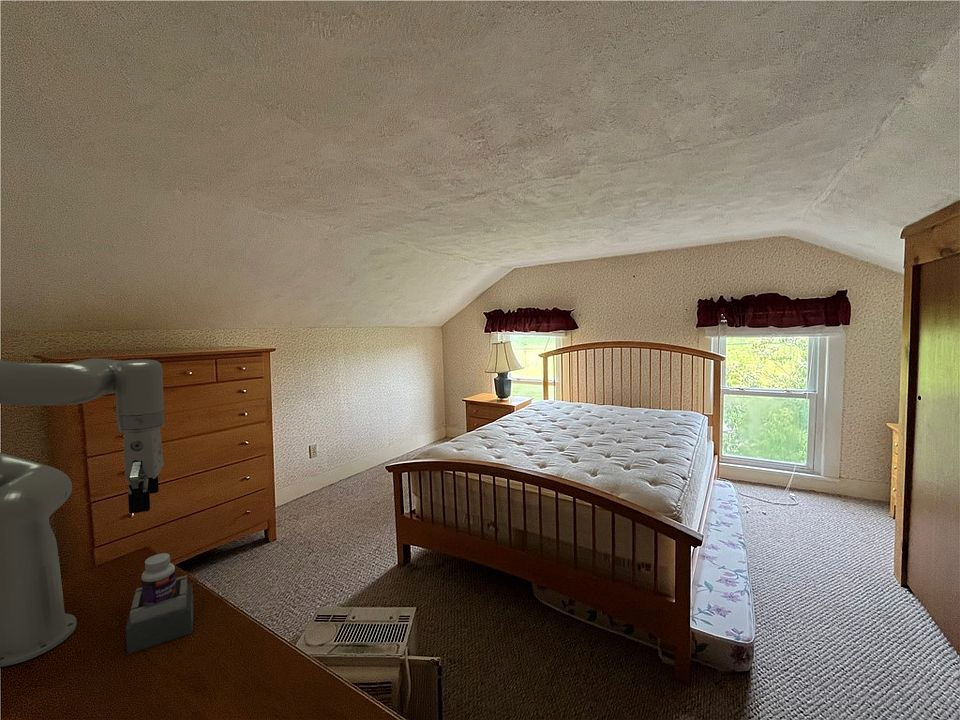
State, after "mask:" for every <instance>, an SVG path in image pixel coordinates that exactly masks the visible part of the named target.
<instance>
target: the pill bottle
mask: <svg viewBox="0 0 960 720" xmlns="http://www.w3.org/2000/svg"><path fill="white" fill-rule="evenodd" d="M144 568H145V570H144V571H143V572H142V574H141V577H140V578H141V587H142V594H143V606H147V605H150V604H154V603H157V602H161V601H164V600H168V599H171V598H175V597H177V590H176V578H177V577H176V567H175V565H174V563H171V556H170V554H169V553H167V552H164V553H163V552H162V553H157V554H154V555H152V556H149V557H148V558H147V559H145V561H144Z"/></svg>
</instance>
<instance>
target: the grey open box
mask: <svg viewBox="0 0 960 720" xmlns="http://www.w3.org/2000/svg"><path fill="white" fill-rule="evenodd" d="M188 581H189V580H188V574H186V575H182V576H178V577H176V590H177V597H175V598H171V599H168V600H164V601H161V602H157V603H154V604H150V605H147V606H143V594H142V586H141V587H138V588H137V587H136V588H135V593H134V596H133V599H132V602H131V606H130V611H129V615H128V618H127V622H126V626H125V640H126V651H127V655H131V654H133V653H137V652H140V651H143V650H146V649H149V648H151V647H155V646H158V645H161V644H163V643H164V644H165V643H167V642H169V641H174V640H176V639H179V638H182V637H185V636H189V635H191V634H193V629H194V628H193V627H194V609H195V608H194V606H195V604H194V593H193V592H194V589H193V582H190V583H189V582H188Z"/></svg>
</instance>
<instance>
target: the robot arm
mask: <svg viewBox="0 0 960 720" xmlns="http://www.w3.org/2000/svg"><path fill="white" fill-rule="evenodd" d="M163 380H164V379H163V366H162V364H161V362H160V361H158V360H155V359H148V358H147V359H146V358H145V359H129V360H127V359H126V360H121V359H118V360H117V359H109V358H98V357H97V358H96V357H95V358H86V359H82V360H78V361H77V360H76V361H72V362H67V363H66V362H65V363H63V362H61V363H57V362H56V363H53V362H52V363H49V362H48V363H47V362H42V363H41V362H16V361H9V360H8V361H7V360H4V359H1V358H0V405H8V406H28V407H29V406H33V407H34V406H36V407H37V406H38V407H39V406H71V405H72V406H74V405H79V404H80V405H81V404H84V403H89V402H90V401H93V400H95V399H98V398H100V397H104V396H107V395H111V394H114V395H115V412H116V413H115V416H116V431H117V432H119V433H123V463H124V464H123V465H124V466H123V467H124V475H125V480H126V481H128V491H127V492H128V493H127V498H128V513H129V514H138V513H144V512H149V511H150V510H151V497H150V494H151V495H152V494H156V493H158V492H159V489H160V487H159V474H160V473H161V471H162V469H163V466H164V454H163V445H162V433H161V428H164V427H165V407H164V405H165V404H164V402H165V400H164V383H163V382H164V381H163ZM72 490H73V483H72V480H71V479H70V477H69V476H68V475H67V473H65V472H63V471H62V470H60V469H58V468H55V467H52V466H49V465H46V464H43V463H40V462H36V461H32V460H28V459H25V458H21V457H17V456H15V455H11V454H7V453H4V452H0V668H2V667H9V666H13V665H18V664H21V663H22V662H26V661H29V660H31V659H34V658H36V657H38V656H41V655H43V654H45V653H47V652H49V651H51V650H52V649H54V648H56V647H57V646H58V645H60V644H62V643H64V641H65V640H67V639H68V638H69V637H70V636H71V635H72V634H73V633H74V632H75V630H76V629H77V624H78V622H77V617H75V615H73V614H71V613H65V603H64V595H63V585H62V574H61V566H60V557H59V551H58V550H59V549H58V543H57V539H56V536H55V533H54V531H53V529H52V526H51V524H50V516H52V515H53V514H54V513H56V511H57V510H58V509H60V508H61V506H63V504H65V502H67V500H68V499H69V498H70V496H71V495H72Z"/></svg>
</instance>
